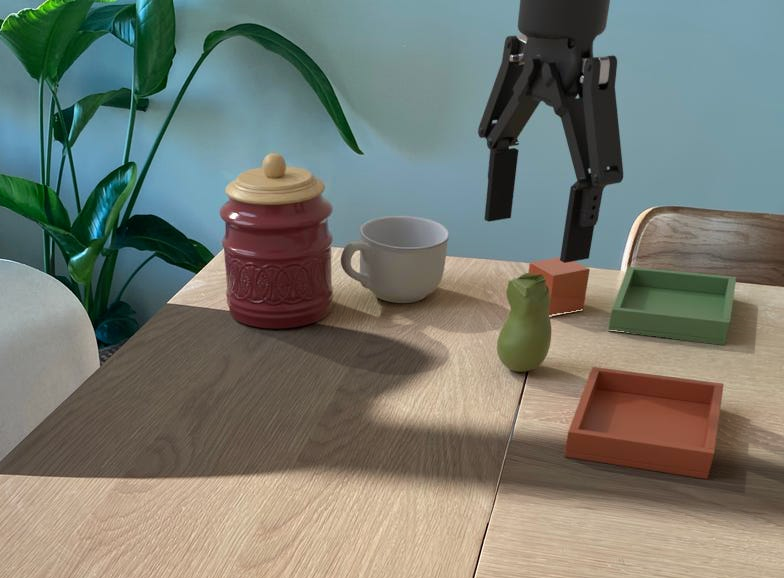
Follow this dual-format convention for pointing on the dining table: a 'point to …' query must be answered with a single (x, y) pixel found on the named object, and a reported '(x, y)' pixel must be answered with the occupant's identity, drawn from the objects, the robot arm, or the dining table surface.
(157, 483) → the dining table surface
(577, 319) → the dining table surface
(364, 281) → the teacup
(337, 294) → the dining table surface
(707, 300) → the green tray
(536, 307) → the pear
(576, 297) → the block
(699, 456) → the terracotta tray
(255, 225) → the kitchen canister
